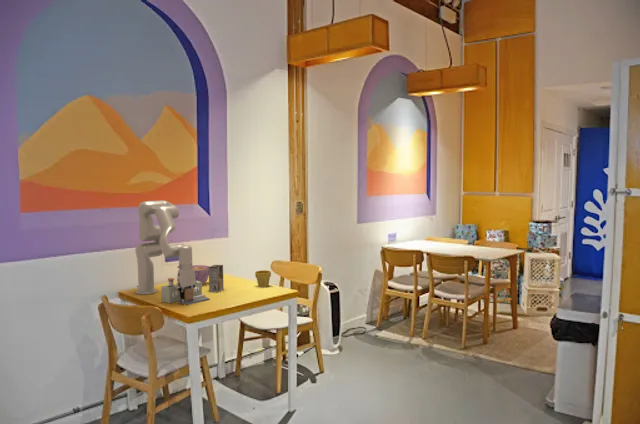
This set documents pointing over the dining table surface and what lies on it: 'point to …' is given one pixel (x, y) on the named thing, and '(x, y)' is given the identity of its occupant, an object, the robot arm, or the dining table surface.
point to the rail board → (195, 300)
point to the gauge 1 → (171, 282)
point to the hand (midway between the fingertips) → (186, 297)
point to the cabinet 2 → (197, 289)
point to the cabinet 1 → (170, 294)
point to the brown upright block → (188, 294)
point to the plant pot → (263, 278)
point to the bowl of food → (201, 272)
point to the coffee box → (216, 278)
